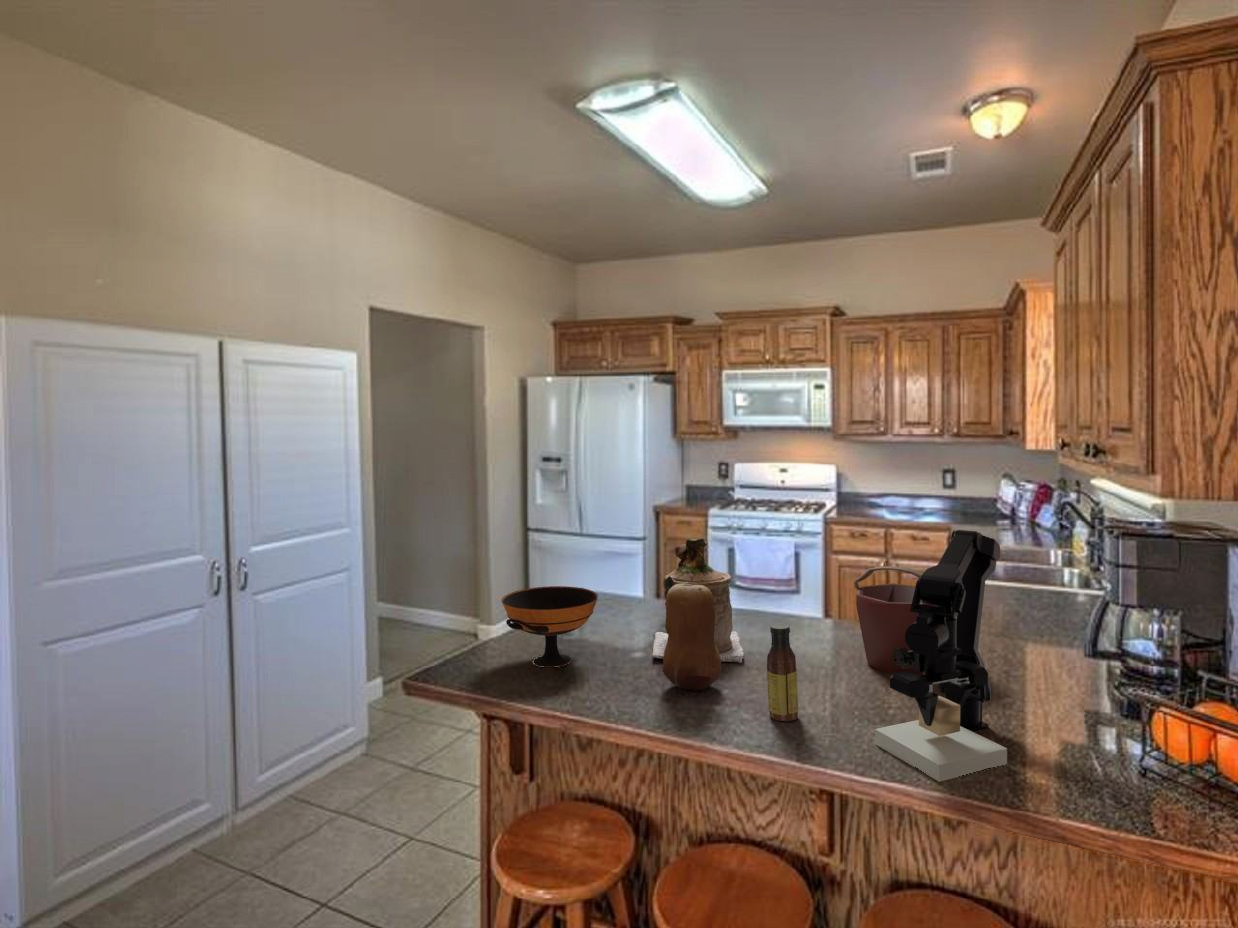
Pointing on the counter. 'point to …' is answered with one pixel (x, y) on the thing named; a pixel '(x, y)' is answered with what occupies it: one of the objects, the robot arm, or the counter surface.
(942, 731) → the pine cube
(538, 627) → the cup
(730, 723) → the counter surface
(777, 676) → the sauce bottle
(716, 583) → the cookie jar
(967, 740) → the plinth
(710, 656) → the butternut squash
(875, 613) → the bucket
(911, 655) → the robot arm
